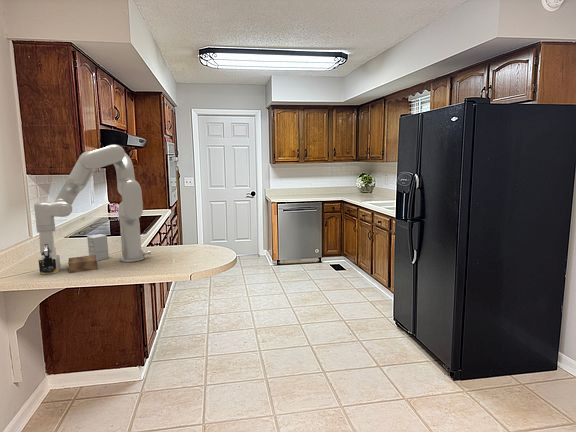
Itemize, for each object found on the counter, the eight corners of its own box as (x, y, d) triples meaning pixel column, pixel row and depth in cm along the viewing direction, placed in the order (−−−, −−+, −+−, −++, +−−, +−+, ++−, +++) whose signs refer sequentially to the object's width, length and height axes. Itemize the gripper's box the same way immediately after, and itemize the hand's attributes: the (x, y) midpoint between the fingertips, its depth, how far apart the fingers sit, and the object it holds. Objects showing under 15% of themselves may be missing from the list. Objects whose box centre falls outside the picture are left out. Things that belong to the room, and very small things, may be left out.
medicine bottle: (39, 274, 188) (36, 249, 186) (44, 270, 195) (41, 246, 193) (56, 273, 190) (54, 248, 188) (60, 269, 196) (58, 244, 195)
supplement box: (102, 256, 220) (100, 233, 218) (109, 258, 216) (107, 235, 214) (88, 259, 215) (86, 235, 213) (95, 261, 210) (93, 237, 208)
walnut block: (96, 264, 205) (95, 254, 204) (97, 270, 195) (96, 260, 194) (69, 267, 200) (68, 258, 199) (69, 273, 189) (68, 263, 188)
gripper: (39, 226, 195) (42, 260, 198) (34, 232, 180) (38, 269, 182) (56, 224, 198) (60, 258, 201) (53, 230, 183) (57, 267, 185)
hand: (49, 263), depth 192 cm, fingers open, 9 cm apart
